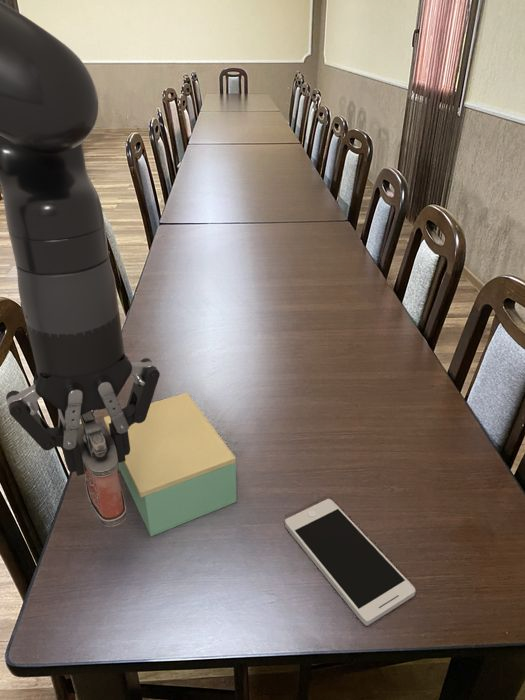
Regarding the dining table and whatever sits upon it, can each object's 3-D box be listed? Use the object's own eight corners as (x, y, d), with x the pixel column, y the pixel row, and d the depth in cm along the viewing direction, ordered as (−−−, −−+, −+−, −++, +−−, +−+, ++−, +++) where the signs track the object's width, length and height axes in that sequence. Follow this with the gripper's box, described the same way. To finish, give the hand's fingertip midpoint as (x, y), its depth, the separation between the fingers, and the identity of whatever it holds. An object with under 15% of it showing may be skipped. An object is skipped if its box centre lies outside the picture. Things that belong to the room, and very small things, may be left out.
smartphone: (329, 502, 70) (329, 497, 69) (416, 595, 58) (417, 589, 58) (283, 524, 66) (283, 519, 66) (365, 627, 55) (366, 622, 55)
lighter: (133, 519, 54) (121, 443, 49) (99, 531, 53) (84, 454, 48) (111, 469, 60) (98, 397, 55) (80, 479, 59) (64, 406, 54)
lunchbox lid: (140, 498, 61) (139, 492, 61) (104, 421, 73) (103, 417, 72) (236, 462, 66) (235, 457, 66) (187, 396, 78) (187, 392, 77)
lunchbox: (150, 537, 65) (144, 496, 61) (114, 458, 76) (107, 420, 73) (236, 502, 70) (236, 463, 66) (190, 433, 81) (187, 396, 78)
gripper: (-16, 349, 39) (31, 514, 48) (168, 310, 45) (180, 463, 54) (-25, 308, 45) (19, 463, 54) (140, 278, 51) (154, 422, 60)
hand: (99, 462), depth 54 cm, fingers closed on lighter, 3 cm apart
